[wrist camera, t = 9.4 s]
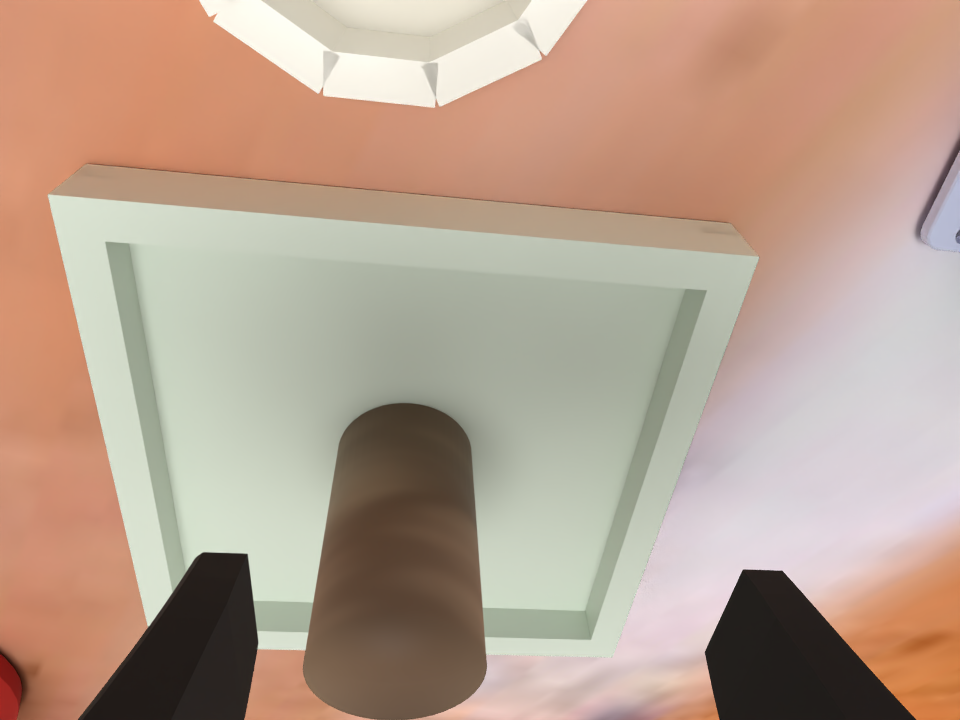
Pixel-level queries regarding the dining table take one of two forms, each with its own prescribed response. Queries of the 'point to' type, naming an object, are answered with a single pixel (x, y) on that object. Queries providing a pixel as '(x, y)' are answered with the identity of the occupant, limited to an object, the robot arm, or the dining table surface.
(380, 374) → the tray
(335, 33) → the bowl
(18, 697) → the canned food
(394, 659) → the pin
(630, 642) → the dining table surface
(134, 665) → the robot arm
